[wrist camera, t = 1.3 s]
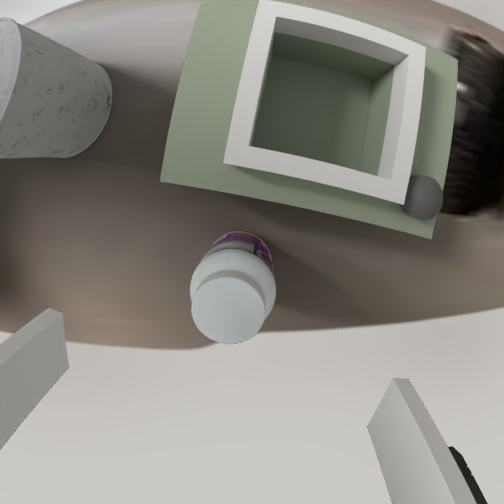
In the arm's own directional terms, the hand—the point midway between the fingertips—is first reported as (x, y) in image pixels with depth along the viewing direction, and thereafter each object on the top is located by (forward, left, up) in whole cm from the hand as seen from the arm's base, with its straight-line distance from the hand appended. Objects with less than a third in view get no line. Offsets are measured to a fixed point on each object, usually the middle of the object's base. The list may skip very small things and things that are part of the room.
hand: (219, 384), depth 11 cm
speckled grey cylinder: (-18, +11, -16) cm, 26 cm away
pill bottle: (0, 0, -16) cm, 16 cm away
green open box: (+3, +12, -15) cm, 20 cm away
